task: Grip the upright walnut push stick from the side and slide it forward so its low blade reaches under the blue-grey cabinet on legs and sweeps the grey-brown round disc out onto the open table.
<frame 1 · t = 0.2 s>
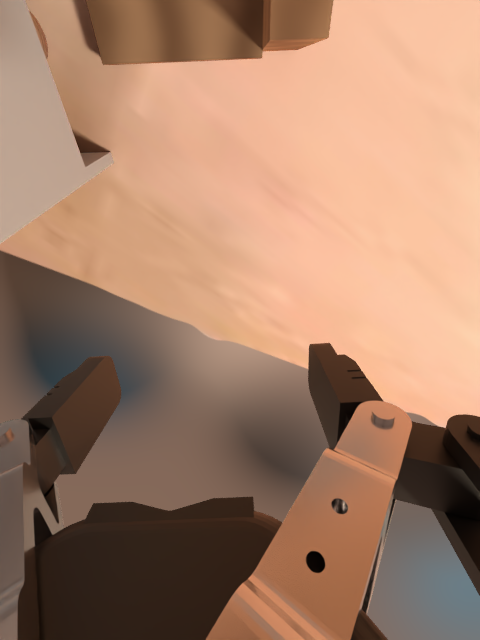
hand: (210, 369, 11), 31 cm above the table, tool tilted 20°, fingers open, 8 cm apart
push stick: (280, 24, 26), on the table
cabinet: (30, 36, 27), on the table
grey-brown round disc: (20, 37, 27), on the table
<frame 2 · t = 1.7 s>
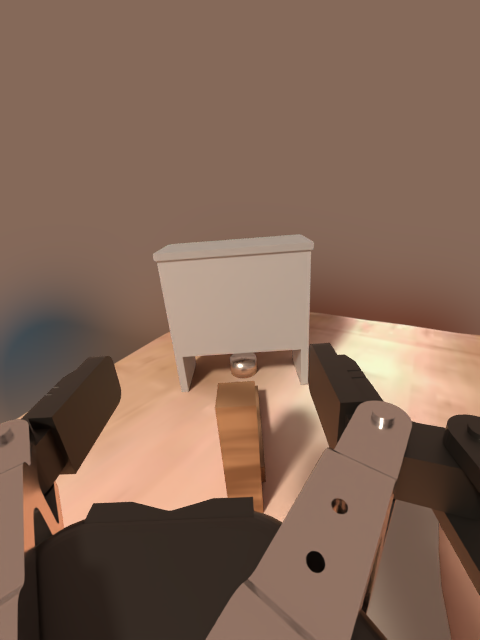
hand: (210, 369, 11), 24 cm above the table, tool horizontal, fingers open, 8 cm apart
kitchen cleaver: (400, 520, 28), on the table
push stick: (246, 497, 31), on the table
cabinet: (244, 373, 53), on the table
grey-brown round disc: (244, 371, 54), on the table
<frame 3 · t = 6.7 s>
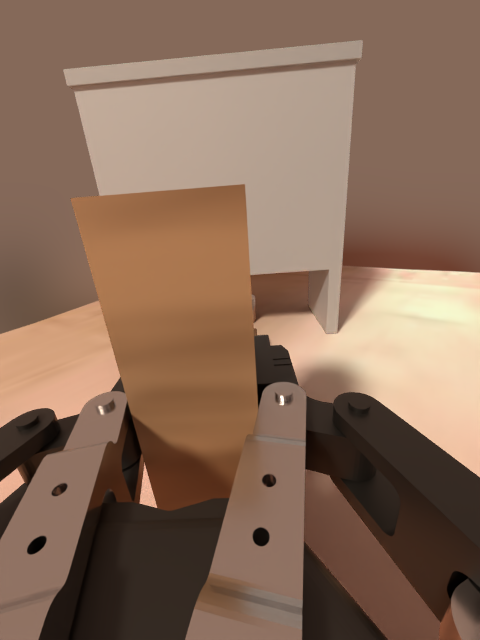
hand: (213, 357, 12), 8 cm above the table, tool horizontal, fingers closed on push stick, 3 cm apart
push stick: (226, 535, 13), on the table, touching gripper
cabinet: (236, 322, 35), on the table
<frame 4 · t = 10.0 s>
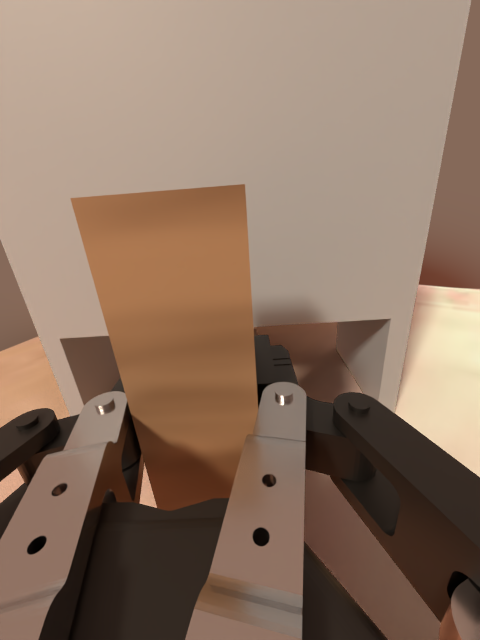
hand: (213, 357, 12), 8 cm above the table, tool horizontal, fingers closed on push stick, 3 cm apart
push stick: (226, 535, 13), on the table, touching gripper, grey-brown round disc
cabinet: (233, 381, 23), on the table
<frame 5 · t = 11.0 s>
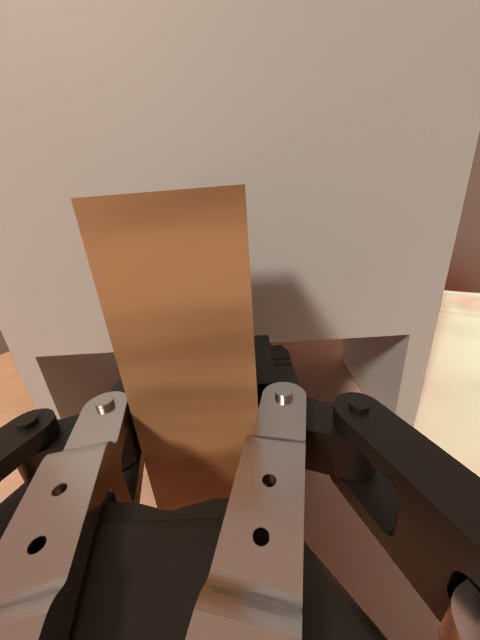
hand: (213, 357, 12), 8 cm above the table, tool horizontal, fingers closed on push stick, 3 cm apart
push stick: (226, 535, 13), on the table, touching gripper
cabinet: (232, 398, 21), on the table
when the fingers open (8 cm above the table, at t = 12.0 s): push stick stays where it is, on the table.
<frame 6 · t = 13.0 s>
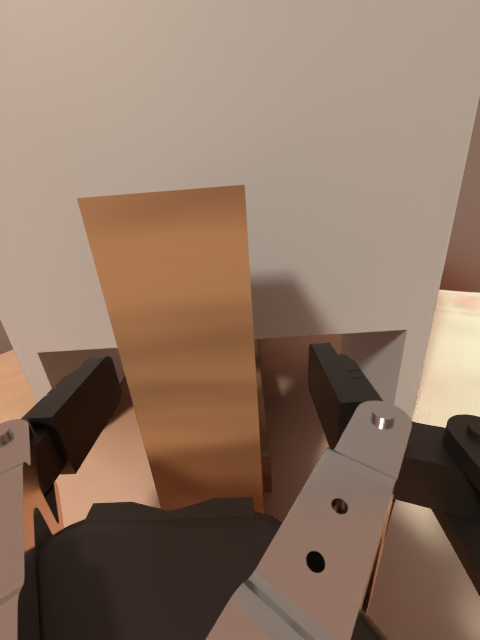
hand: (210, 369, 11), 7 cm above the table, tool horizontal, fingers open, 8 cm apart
push stick: (226, 529, 13), on the table
cabinet: (231, 395, 22), on the table
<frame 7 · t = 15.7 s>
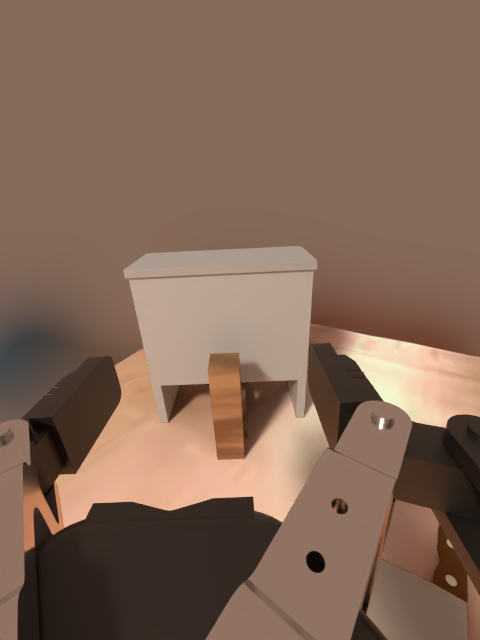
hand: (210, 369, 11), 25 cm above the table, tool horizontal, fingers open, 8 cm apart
kitchen cleaver: (418, 619, 23), on the table
push stick: (231, 447, 38), on the table
cabinet: (232, 400, 47), on the table
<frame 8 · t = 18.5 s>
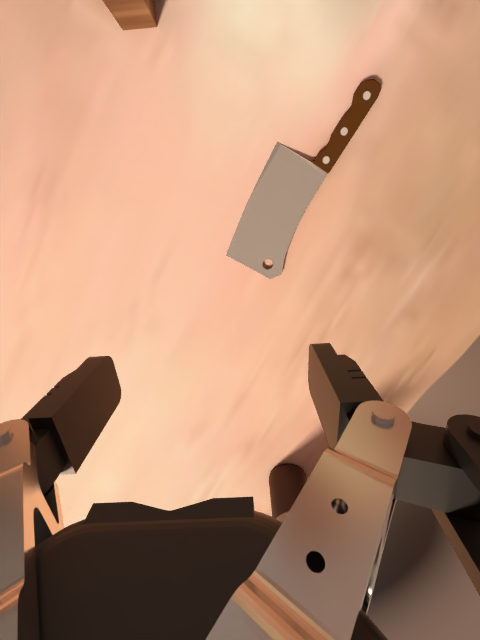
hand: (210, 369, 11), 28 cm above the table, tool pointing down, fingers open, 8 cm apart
kitchen cleaver: (293, 181, 34), on the table
push stick: (136, 5, 28), on the table
wine bottle: (286, 475, 54), on the table
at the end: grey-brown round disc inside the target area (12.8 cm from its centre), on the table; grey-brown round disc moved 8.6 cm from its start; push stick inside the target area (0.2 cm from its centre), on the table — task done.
